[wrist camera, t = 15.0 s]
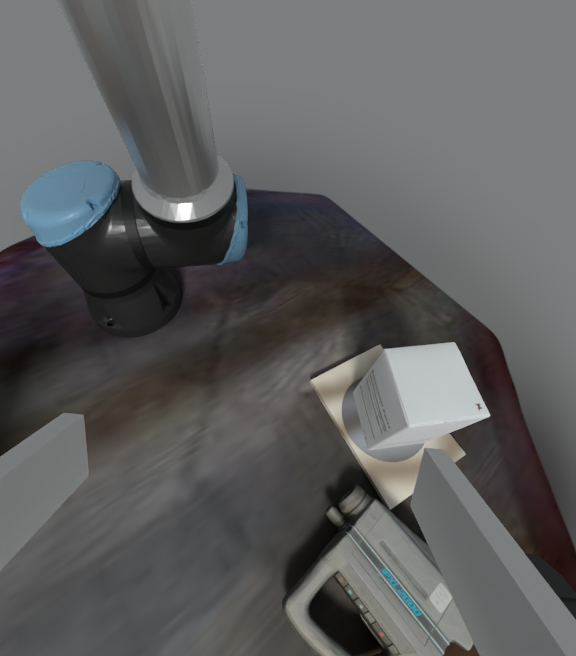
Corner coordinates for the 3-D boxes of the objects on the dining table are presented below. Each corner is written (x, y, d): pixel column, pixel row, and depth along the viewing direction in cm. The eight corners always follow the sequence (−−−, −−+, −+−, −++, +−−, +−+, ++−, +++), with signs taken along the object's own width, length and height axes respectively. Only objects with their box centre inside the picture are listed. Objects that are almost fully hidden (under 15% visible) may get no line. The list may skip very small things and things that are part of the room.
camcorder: (340, 476, 41) (348, 472, 36) (488, 578, 35) (520, 589, 31) (274, 609, 33) (275, 627, 29) (450, 763, 28) (483, 812, 24)
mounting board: (310, 382, 47) (311, 379, 46) (377, 347, 51) (380, 343, 50) (387, 509, 39) (390, 509, 37) (461, 455, 43) (466, 454, 41)
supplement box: (405, 384, 46) (457, 339, 34) (426, 443, 42) (495, 417, 29) (350, 390, 45) (382, 346, 33) (365, 451, 41) (409, 428, 28)
